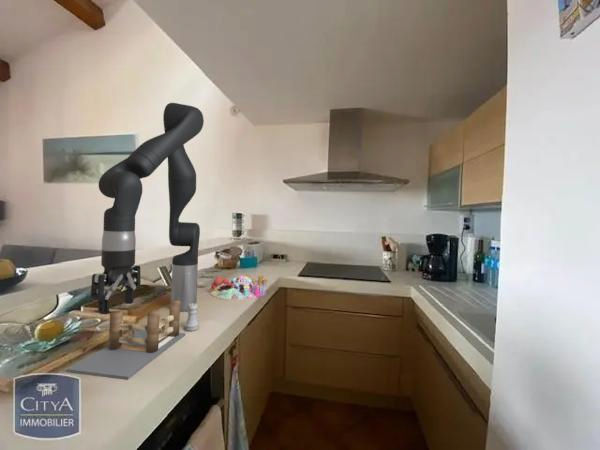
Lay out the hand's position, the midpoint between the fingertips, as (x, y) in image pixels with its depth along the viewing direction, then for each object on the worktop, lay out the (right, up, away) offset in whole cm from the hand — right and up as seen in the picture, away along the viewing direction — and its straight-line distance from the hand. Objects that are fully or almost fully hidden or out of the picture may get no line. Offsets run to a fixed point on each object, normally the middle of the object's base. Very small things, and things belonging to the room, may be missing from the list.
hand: (117, 308), depth 76 cm
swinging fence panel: (+3, -10, -1) cm, 11 cm away
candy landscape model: (+20, -11, +60) cm, 64 cm away
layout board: (+5, -11, -1) cm, 12 cm away
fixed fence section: (+11, -11, +4) cm, 15 cm away
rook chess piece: (+14, -11, +15) cm, 24 cm away
